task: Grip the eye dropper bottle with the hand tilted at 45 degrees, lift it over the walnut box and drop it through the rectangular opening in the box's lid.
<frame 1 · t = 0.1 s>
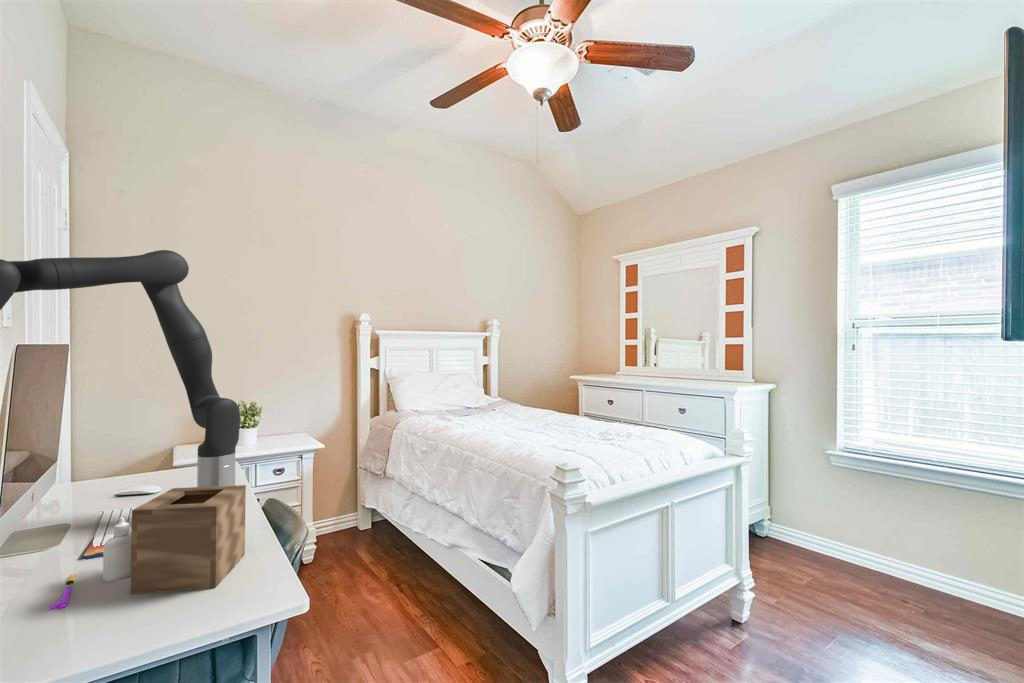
box: (192, 573, 100), on the table
eye dropper bottle: (120, 577, 99), on the table
linear piston actuator: (62, 595, 92), on the table
smartphone: (108, 547, 114), on the table
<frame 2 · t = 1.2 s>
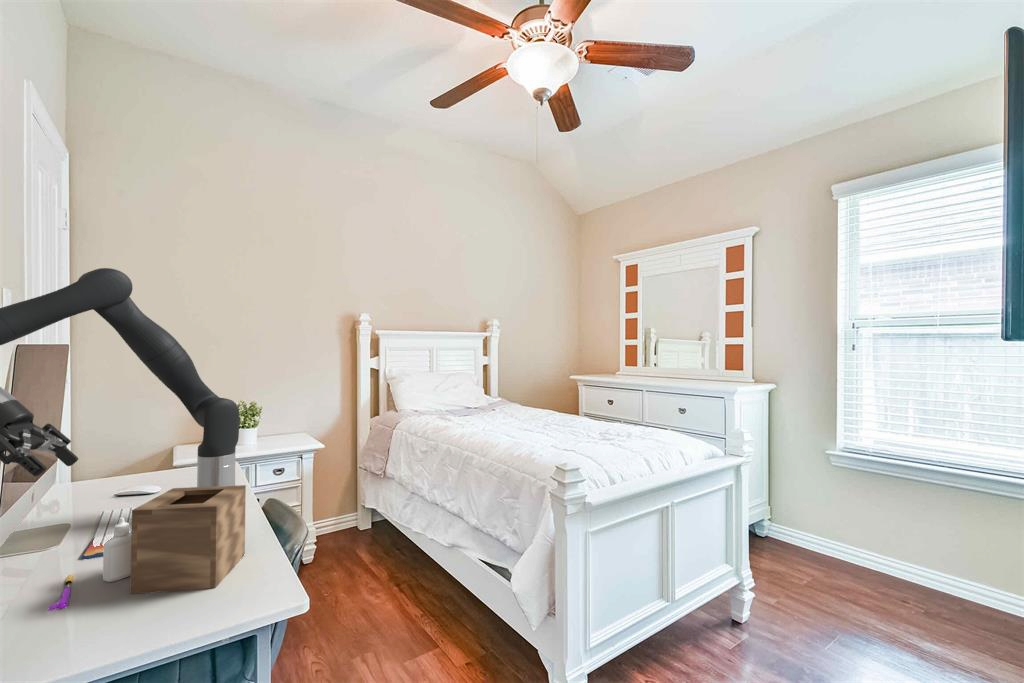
hand: (58, 467, 97), 23 cm above the table, tool tilted 45°, fingers open, 8 cm apart
nothing on the table moved.
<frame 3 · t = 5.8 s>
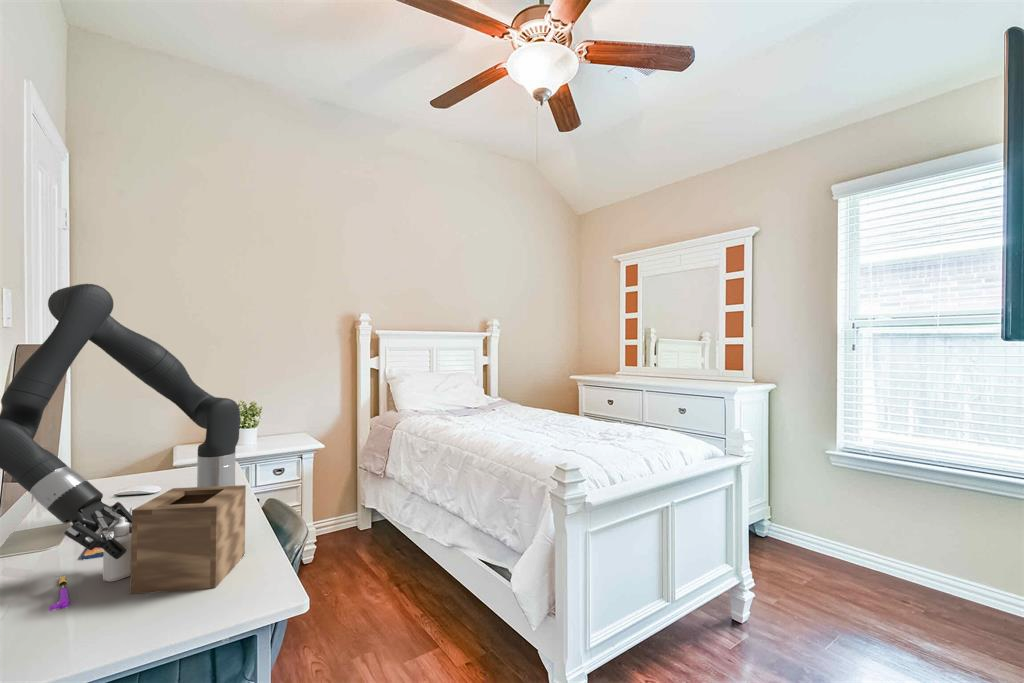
hand: (131, 548, 99), 5 cm above the table, tool tilted 45°, fingers closed on eye dropper bottle, 5 cm apart
eye dropper bottle: (120, 577, 99), on the table, touching gripper
when the fingers open (23 cm above the table, at t = 10.8 s): eye dropper bottle drops 16 cm, resting on box.
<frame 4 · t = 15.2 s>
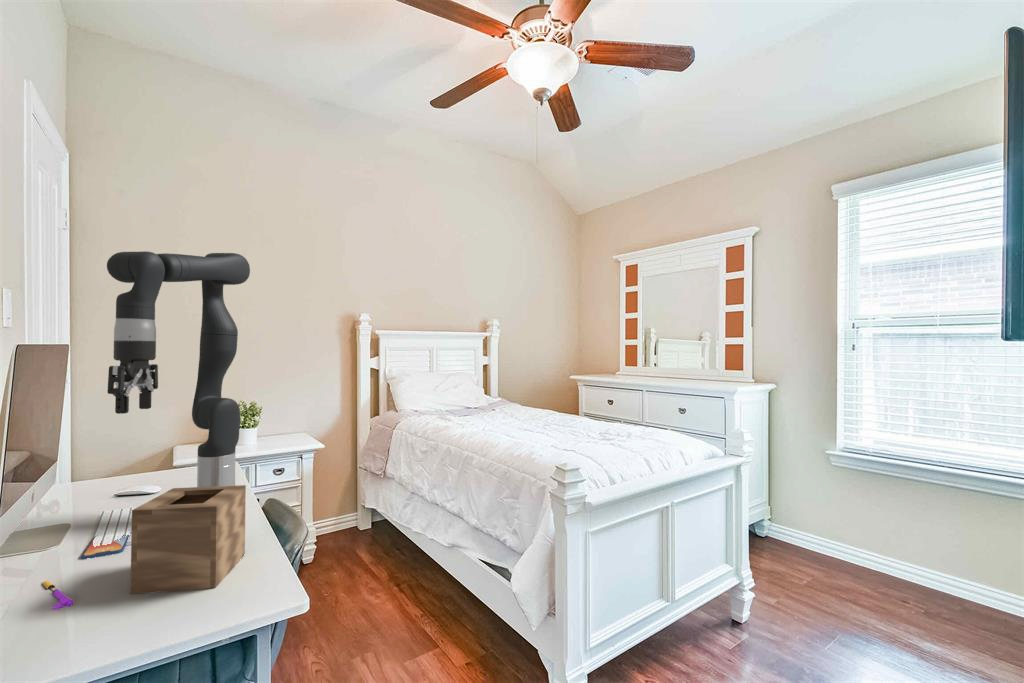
hand: (134, 411, 108), 33 cm above the table, tool pointing down, fingers open, 8 cm apart
eye dropper bottle: (189, 568, 100), point 1 cm above the table, touching box
at the end: eye dropper bottle inside the target area on the box (0.4 cm from its centre), point 1.0 cm above the box's base; the gripper is holding nothing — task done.
